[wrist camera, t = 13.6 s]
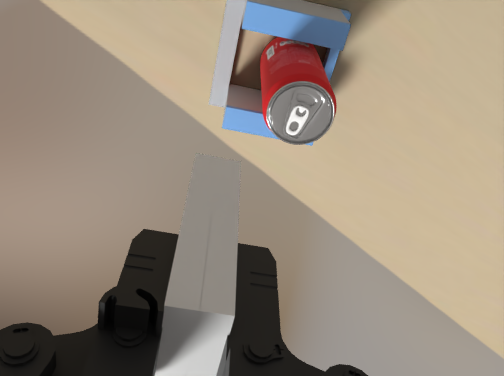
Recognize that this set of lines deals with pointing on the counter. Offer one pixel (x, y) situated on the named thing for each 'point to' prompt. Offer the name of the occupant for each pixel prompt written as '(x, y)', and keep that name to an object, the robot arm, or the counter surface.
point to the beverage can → (295, 92)
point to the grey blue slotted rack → (277, 24)
